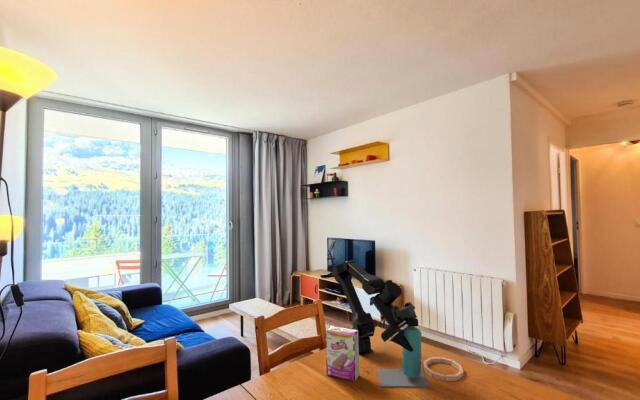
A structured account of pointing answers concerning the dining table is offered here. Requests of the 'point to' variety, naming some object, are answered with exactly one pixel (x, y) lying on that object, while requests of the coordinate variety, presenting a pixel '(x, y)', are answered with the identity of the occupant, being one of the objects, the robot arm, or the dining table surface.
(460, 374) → the pale pink ring
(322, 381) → the dining table surface
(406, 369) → the beverage bottle
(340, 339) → the candy bar box
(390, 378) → the rubber mat
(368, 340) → the robot arm
